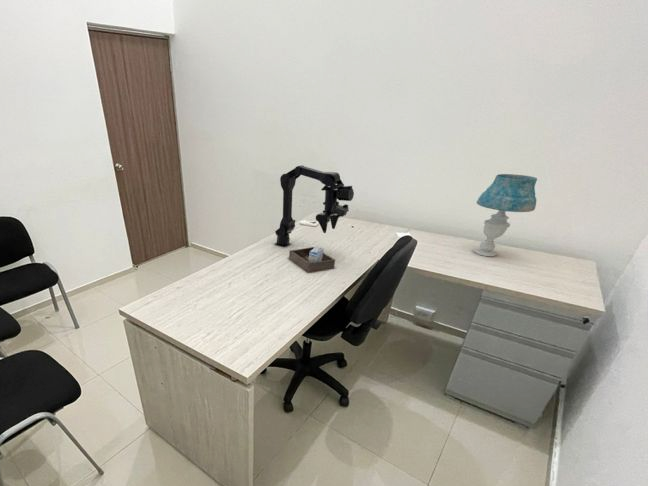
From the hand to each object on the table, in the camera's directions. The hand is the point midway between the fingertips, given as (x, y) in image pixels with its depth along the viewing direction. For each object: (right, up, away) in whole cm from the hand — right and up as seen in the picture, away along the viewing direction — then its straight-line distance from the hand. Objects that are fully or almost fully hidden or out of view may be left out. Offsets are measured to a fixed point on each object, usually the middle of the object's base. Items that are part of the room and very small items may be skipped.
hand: (329, 230), depth 169 cm
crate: (-10, -17, 0) cm, 19 cm away
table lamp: (+89, -10, +11) cm, 90 cm away
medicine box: (-8, -19, -3) cm, 21 cm away
